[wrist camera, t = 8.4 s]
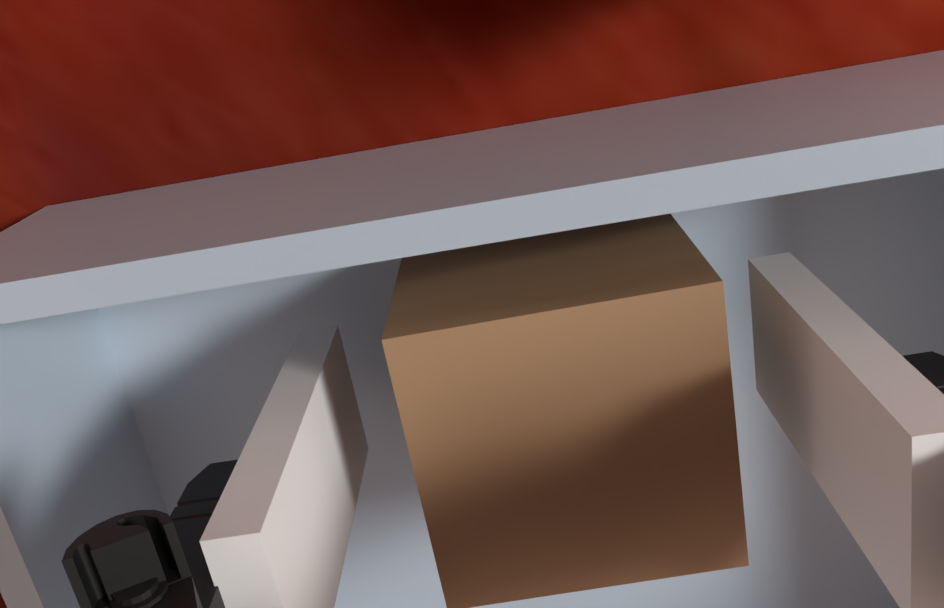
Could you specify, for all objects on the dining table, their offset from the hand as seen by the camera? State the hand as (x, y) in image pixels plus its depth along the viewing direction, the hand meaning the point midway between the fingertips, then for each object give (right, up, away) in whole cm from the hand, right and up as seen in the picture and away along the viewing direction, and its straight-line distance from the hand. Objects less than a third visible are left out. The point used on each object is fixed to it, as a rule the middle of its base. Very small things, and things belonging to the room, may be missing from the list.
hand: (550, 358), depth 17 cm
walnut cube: (0, 0, +2) cm, 2 cm away
